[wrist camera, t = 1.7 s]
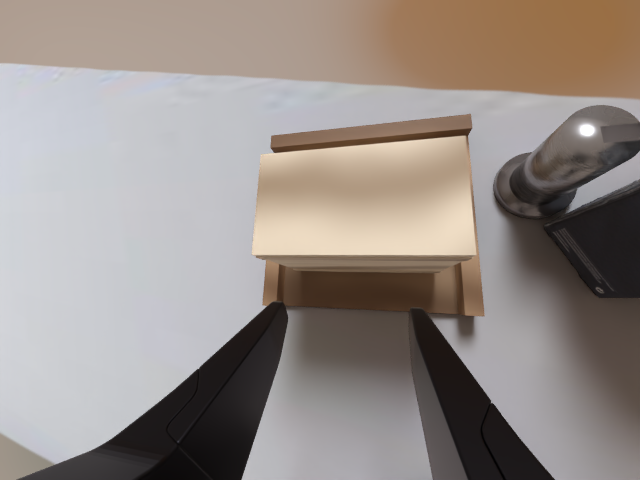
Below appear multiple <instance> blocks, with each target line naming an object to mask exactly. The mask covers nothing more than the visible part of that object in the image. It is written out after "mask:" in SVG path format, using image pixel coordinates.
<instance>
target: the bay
mask: <svg viewBox="0 0 640 480" xmlns="http://www.w3.org/2000/svg"><path fill="white" fill-rule="evenodd" d="M471 129H472V121H471V114H467V115H458V116H449V117H439V118H430V119H421V120H412V121H403V122H393V123H384V124H375V125H366V126H357V127H347V128H338V129H329V130H320V131H311V132H301V133H292V134H283V135H274V136H271V149H272V150H273V152H274V153H282V152H293V151H303V150H314V149H325V148H336V147H347V146H358V145H369V144H379V143H390V142H401V141H412V140H423V139H434V138H444V137H455V136H466V144H467V156H468V167H469V178H470V189H471V200H472V211H473V223H474V234H475V245H476V256H474V257H473V259H470V260H468V261H462V262H460V263H458V264H455V265H453V266H451V267H449V268H446V269H444V270H442V272H440V273H390V272H331V271H297V270H293V268H290V267H287V266H284V265H281V264H278V263H275V262H272V261H269V260H266V268H265V281H264V293H263V305H265V306H268V305H269V304H270V303H271V302H273V301H282V302H284V304H285V306H304V307H325V308H345V309H366V310H386V311H407V312H409V311H410V308H411V307H420V308H423V309H424V310H425V312H427V313H448V314H461V315H467V316H484V305H483V294H482V283H481V273H480V262H479V251H478V240H477V229H476V218H475V207H474V196H473V185H472V174H471V163H470V153H469V142H468V135H469V133H470V131H471Z"/></svg>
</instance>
